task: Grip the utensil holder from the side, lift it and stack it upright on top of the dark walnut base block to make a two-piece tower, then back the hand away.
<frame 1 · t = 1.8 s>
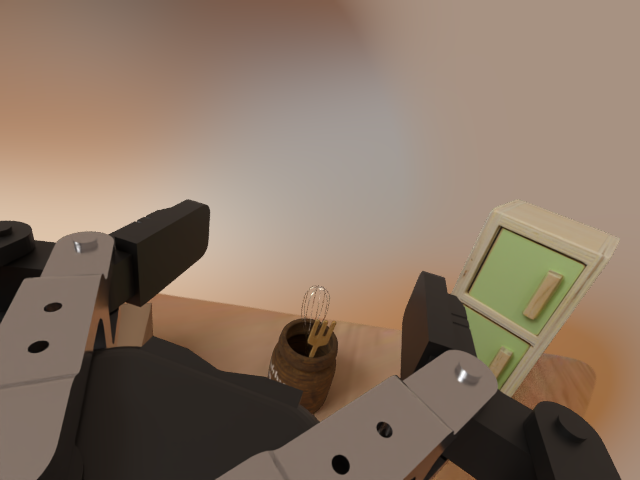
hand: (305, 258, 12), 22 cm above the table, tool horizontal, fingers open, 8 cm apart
toy refrigerator: (448, 402, 35), on the table
utensil holder: (295, 393, 32), on the table
walnut base block: (92, 402, 27), on the table
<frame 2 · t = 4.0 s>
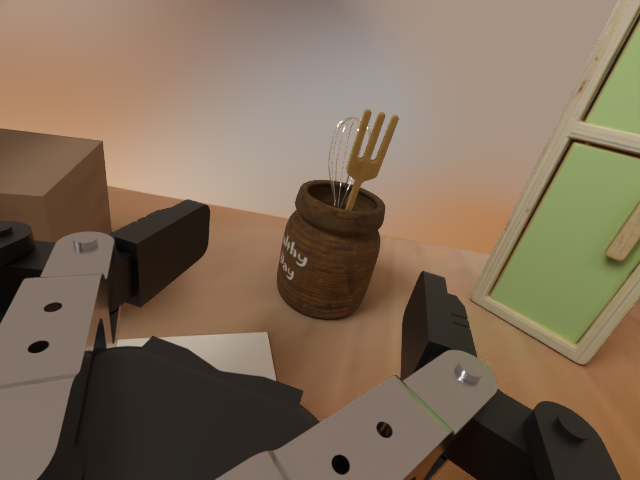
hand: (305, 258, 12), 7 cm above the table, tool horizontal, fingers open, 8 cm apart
toy refrigerator: (528, 317, 25), on the table
utensil holder: (318, 295, 22), on the table
instruction card: (154, 405, 13), on the table
walnut base block: (5, 284, 17), on the table
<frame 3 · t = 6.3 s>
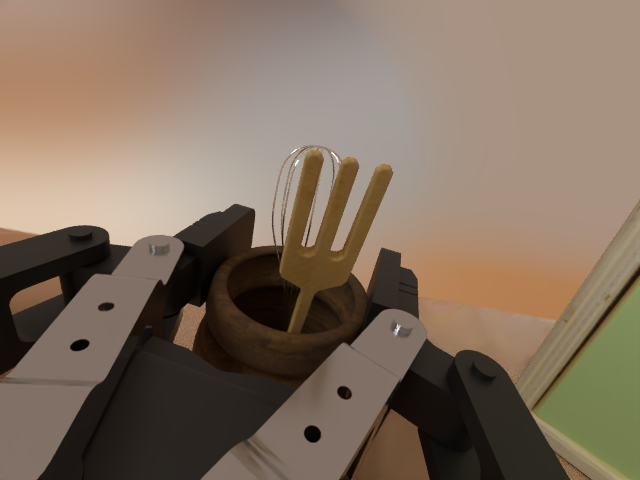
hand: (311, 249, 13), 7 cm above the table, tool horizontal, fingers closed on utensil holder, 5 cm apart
toy refrigerator: (589, 439, 17), on the table
utensil holder: (262, 425, 14), on the table, touching gripper
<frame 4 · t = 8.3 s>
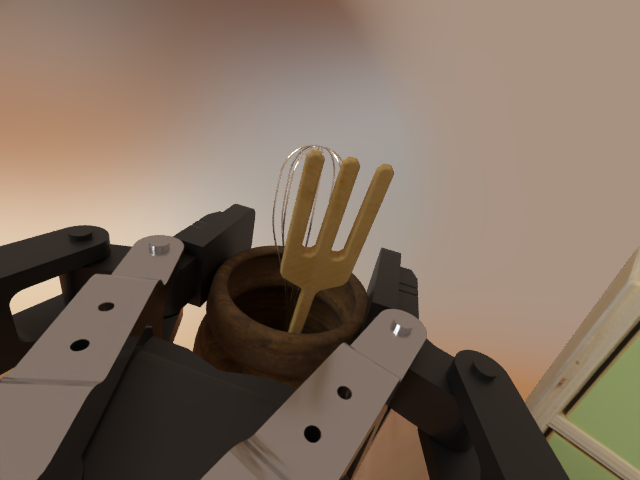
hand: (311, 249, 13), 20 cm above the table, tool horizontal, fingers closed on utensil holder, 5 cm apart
utensil holder: (263, 426, 14), point 12 cm above the table, touching gripper
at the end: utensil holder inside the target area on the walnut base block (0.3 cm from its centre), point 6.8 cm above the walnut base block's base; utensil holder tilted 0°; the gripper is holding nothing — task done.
